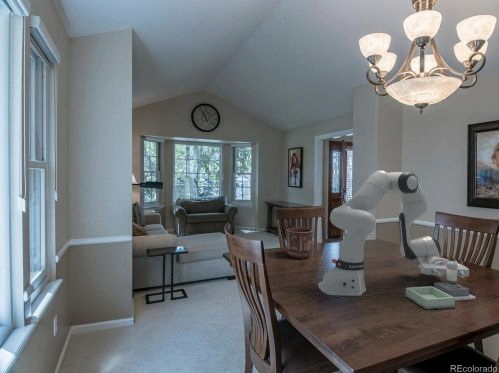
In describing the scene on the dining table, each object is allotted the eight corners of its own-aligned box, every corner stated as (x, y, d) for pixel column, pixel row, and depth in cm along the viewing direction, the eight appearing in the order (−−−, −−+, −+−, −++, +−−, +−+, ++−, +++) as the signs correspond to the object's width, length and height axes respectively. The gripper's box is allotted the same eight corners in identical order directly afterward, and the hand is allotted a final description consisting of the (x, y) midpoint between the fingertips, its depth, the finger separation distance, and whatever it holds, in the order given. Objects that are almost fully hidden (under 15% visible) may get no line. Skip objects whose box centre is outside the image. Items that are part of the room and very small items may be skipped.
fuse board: (449, 300, 133) (449, 291, 133) (428, 289, 146) (428, 281, 146) (475, 299, 135) (476, 290, 135) (452, 288, 148) (452, 280, 148)
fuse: (450, 294, 138) (451, 263, 138) (443, 290, 143) (444, 261, 142) (458, 293, 139) (460, 263, 138) (451, 290, 143) (452, 260, 142)
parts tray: (426, 309, 125) (426, 299, 125) (405, 296, 138) (406, 287, 138) (454, 307, 127) (454, 297, 127) (431, 294, 140) (431, 286, 140)
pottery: (309, 252, 213) (309, 227, 212) (315, 260, 195) (315, 232, 195) (284, 253, 212) (284, 227, 212) (288, 260, 195) (288, 232, 194)
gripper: (416, 259, 155) (427, 267, 142) (460, 261, 152) (476, 269, 138) (415, 271, 155) (427, 280, 142) (459, 273, 152) (475, 283, 139)
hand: (451, 275), depth 140 cm, fingers open, 8 cm apart
